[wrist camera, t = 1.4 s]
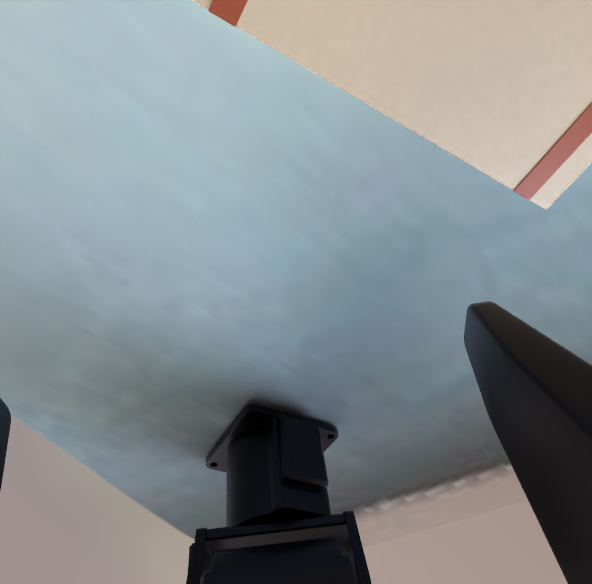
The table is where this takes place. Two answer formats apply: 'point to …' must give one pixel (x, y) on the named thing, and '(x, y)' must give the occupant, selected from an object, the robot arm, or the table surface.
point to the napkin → (453, 74)
